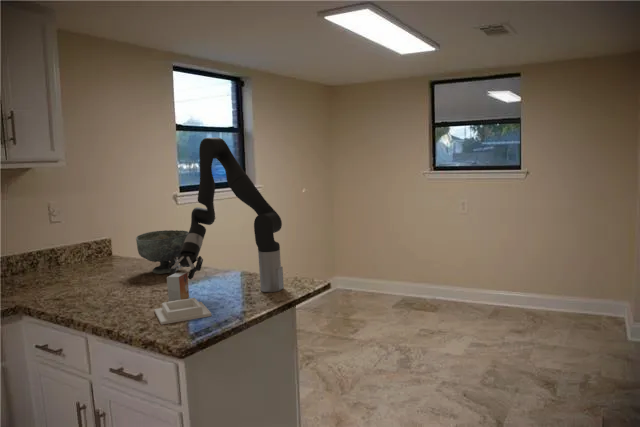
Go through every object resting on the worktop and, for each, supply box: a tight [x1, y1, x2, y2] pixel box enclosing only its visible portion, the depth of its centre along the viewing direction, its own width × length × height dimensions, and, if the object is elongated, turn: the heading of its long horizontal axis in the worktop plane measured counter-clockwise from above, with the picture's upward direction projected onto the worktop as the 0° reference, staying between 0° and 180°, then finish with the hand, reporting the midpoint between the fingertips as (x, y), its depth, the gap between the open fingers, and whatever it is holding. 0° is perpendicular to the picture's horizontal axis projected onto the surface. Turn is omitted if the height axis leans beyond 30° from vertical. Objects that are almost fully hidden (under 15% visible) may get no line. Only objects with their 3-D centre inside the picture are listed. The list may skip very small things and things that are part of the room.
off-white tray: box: [153, 297, 212, 326], centre depth 199 cm, size 18×18×4 cm
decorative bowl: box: [135, 229, 189, 275], centre depth 274 cm, size 27×26×20 cm
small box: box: [166, 272, 190, 302], centre depth 219 cm, size 8×6×10 cm
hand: (180, 278), depth 221 cm, fingers open, 8 cm apart
